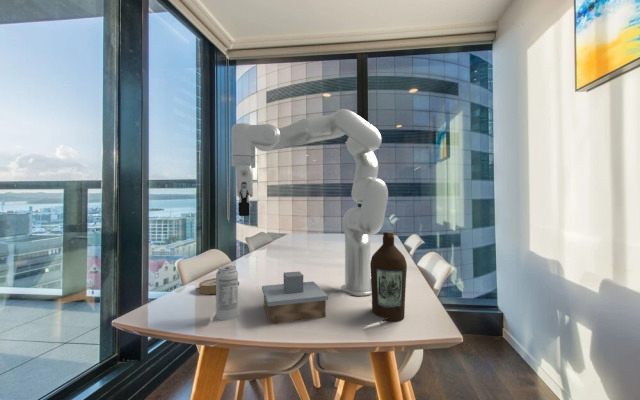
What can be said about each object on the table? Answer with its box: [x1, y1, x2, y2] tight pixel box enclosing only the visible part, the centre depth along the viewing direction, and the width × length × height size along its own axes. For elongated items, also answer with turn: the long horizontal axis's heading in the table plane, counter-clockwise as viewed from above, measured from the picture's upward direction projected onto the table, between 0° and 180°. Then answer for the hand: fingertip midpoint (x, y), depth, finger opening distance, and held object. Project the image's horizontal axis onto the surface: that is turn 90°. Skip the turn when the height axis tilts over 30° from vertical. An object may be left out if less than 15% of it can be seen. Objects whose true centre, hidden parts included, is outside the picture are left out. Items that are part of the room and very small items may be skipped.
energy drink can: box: [215, 265, 239, 321], centre depth 84 cm, size 6×6×15 cm
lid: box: [261, 271, 329, 306], centre depth 88 cm, size 17×15×7 cm
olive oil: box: [370, 231, 408, 323], centre depth 88 cm, size 11×11×25 cm
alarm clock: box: [195, 277, 240, 295], centre depth 111 cm, size 11×5×15 cm
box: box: [263, 296, 327, 325], centre depth 88 cm, size 16×14×6 cm
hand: (243, 215), depth 95 cm, fingers open, 9 cm apart
